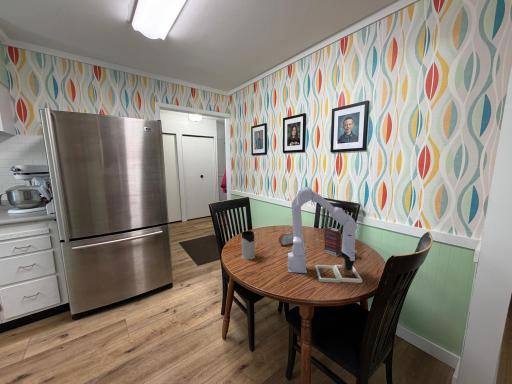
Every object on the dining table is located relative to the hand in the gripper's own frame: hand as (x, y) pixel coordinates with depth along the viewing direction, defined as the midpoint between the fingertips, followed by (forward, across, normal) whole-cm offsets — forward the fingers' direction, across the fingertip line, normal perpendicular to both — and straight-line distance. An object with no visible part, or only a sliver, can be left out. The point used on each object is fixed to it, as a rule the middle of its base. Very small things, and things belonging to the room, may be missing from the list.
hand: (347, 267), depth 105 cm
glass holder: (+4, +18, +52) cm, 55 cm away
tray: (+4, 0, 0) cm, 4 cm away
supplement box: (+4, +25, +2) cm, 25 cm away
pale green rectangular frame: (+4, -1, +10) cm, 11 cm away
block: (+3, 0, 0) cm, 3 cm away
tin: (+4, +38, +29) cm, 48 cm away
